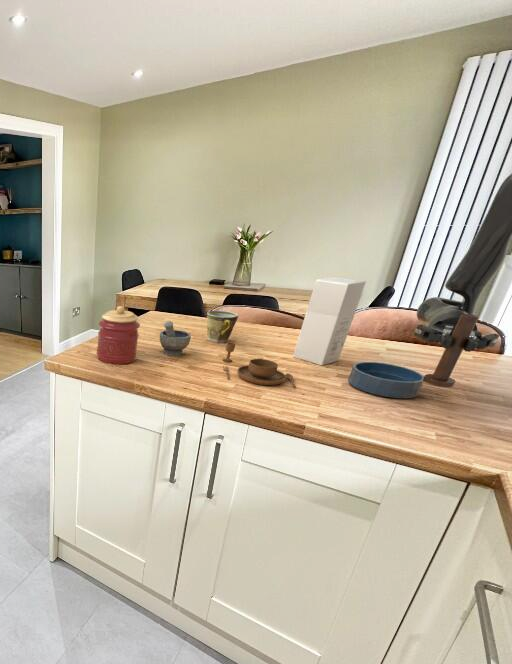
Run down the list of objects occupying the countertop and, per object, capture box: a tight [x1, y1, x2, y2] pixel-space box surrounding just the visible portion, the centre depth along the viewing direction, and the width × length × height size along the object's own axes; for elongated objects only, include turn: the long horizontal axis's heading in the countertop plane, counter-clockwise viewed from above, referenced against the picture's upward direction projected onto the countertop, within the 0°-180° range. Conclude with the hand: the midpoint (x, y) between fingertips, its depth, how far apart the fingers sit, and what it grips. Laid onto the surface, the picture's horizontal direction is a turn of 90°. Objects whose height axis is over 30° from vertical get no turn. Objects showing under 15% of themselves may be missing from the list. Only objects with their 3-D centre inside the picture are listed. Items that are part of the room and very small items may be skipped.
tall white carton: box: [292, 276, 367, 366], centre depth 123 cm, size 9×9×25 cm
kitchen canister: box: [96, 305, 141, 365], centre depth 131 cm, size 13×13×18 cm
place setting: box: [222, 341, 296, 388], centre depth 118 cm, size 18×20×6 cm
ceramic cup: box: [206, 310, 239, 344], centre depth 144 cm, size 13×10×10 cm
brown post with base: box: [423, 314, 480, 388], centre depth 89 cm, size 5×5×16 cm
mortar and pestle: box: [159, 320, 192, 357], centre depth 134 cm, size 11×9×12 cm
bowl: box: [347, 361, 425, 399], centre depth 106 cm, size 14×14×5 cm
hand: (459, 345), depth 86 cm, fingers closed on brown post with base, 2 cm apart
